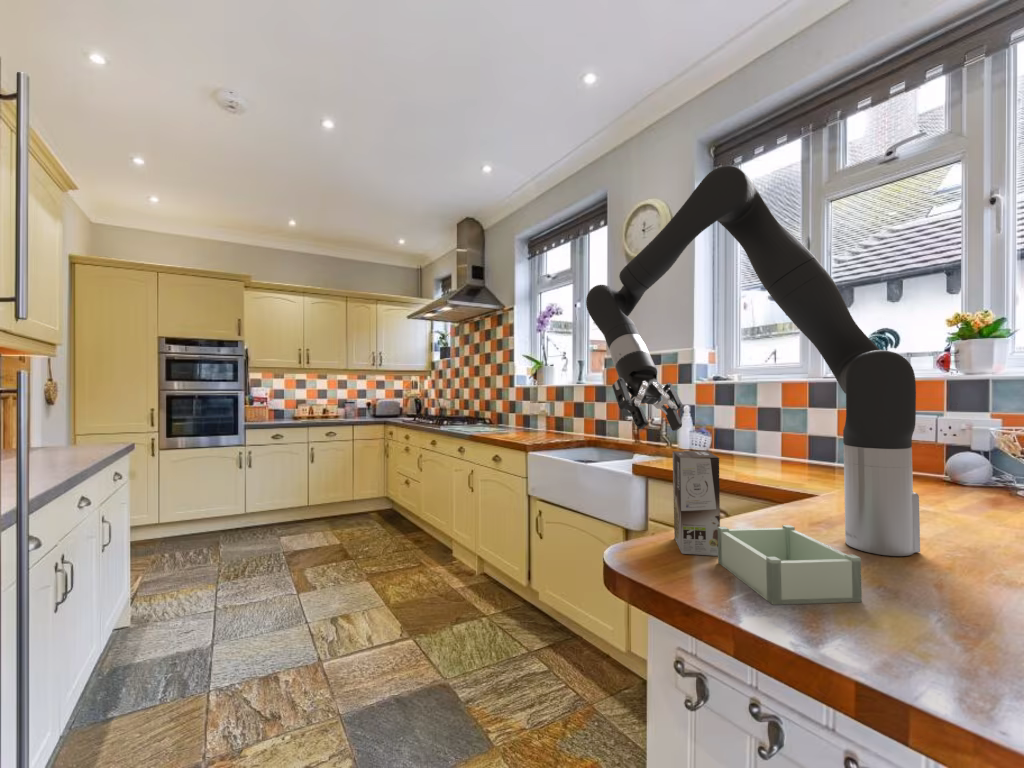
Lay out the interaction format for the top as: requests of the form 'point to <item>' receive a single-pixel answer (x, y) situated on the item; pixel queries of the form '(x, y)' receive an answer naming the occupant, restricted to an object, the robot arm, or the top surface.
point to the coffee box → (696, 502)
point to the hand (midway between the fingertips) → (661, 427)
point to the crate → (789, 566)
